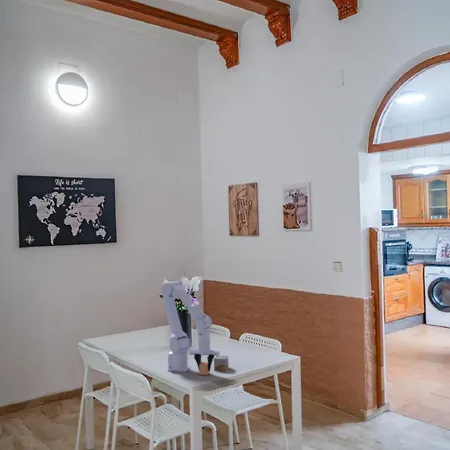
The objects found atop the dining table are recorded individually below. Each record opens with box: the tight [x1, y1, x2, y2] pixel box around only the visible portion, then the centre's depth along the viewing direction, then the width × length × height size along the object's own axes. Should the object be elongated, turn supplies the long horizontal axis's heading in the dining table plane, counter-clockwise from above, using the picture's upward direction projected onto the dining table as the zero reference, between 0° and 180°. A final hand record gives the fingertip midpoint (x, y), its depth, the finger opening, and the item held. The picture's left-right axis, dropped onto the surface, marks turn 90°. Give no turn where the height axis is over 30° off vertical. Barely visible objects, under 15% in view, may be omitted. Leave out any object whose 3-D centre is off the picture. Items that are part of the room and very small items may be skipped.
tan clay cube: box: [198, 361, 211, 376], centre depth 234 cm, size 4×4×5 cm
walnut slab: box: [213, 362, 229, 372], centre depth 243 cm, size 6×6×3 cm
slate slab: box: [213, 355, 229, 366], centre depth 243 cm, size 6×6×3 cm
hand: (204, 370), depth 234 cm, fingers closed on tan clay cube, 4 cm apart
